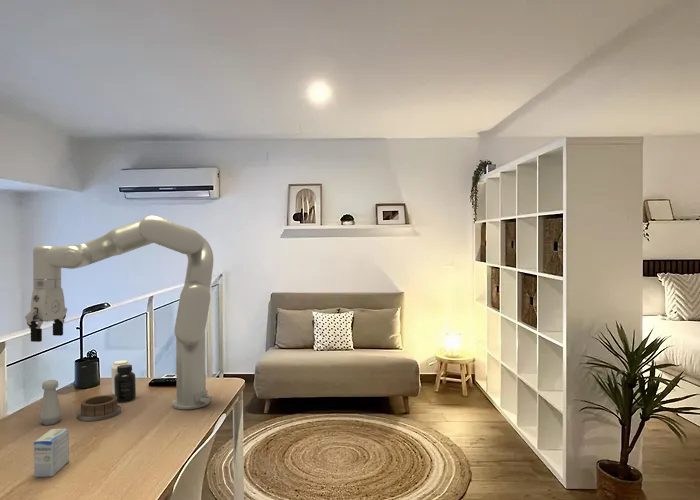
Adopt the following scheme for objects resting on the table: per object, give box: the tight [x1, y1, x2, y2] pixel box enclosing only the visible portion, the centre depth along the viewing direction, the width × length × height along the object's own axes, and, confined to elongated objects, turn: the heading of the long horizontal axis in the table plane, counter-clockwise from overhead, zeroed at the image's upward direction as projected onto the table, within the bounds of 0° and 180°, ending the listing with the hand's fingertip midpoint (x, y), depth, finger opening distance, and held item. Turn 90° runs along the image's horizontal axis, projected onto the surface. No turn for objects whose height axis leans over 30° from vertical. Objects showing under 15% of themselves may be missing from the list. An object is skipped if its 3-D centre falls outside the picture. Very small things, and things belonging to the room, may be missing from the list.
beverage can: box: [111, 359, 131, 396], centre depth 177 cm, size 6×6×12 cm
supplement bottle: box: [114, 364, 137, 403], centre depth 171 cm, size 7×7×12 cm
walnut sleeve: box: [76, 394, 123, 423], centre depth 157 cm, size 13×13×4 cm
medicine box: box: [33, 428, 70, 478], centre depth 119 cm, size 8×4×9 cm, turn 5°
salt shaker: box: [39, 379, 63, 426], centre depth 149 cm, size 6×6×13 cm
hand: (47, 338), depth 153 cm, fingers open, 9 cm apart
